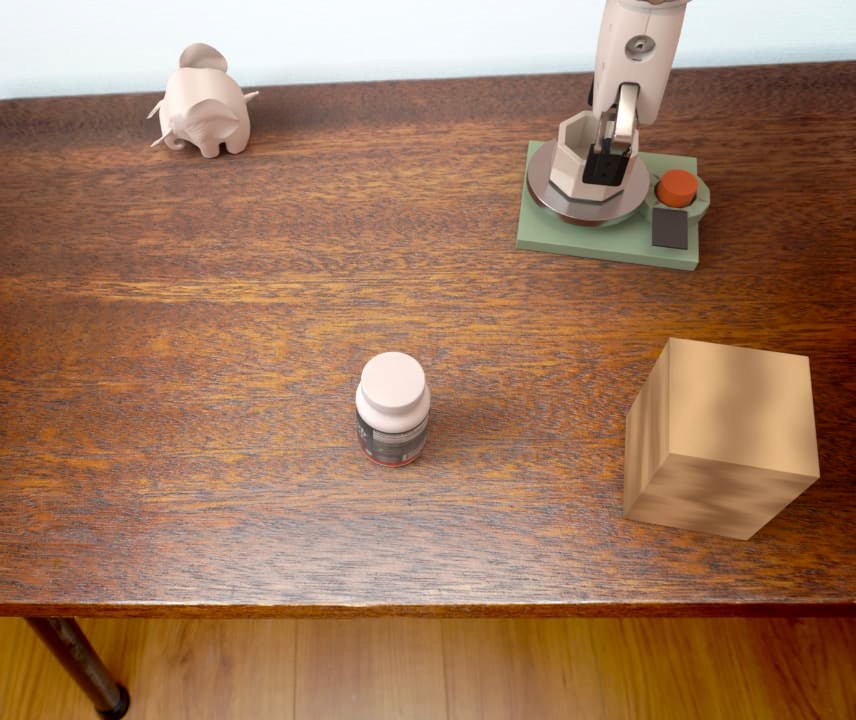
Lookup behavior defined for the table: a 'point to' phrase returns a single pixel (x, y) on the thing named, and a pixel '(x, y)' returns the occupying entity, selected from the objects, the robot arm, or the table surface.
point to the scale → (625, 237)
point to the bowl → (583, 157)
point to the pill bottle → (392, 409)
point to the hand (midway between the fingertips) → (603, 142)
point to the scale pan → (604, 202)
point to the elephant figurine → (203, 104)
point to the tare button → (677, 188)
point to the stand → (719, 439)
